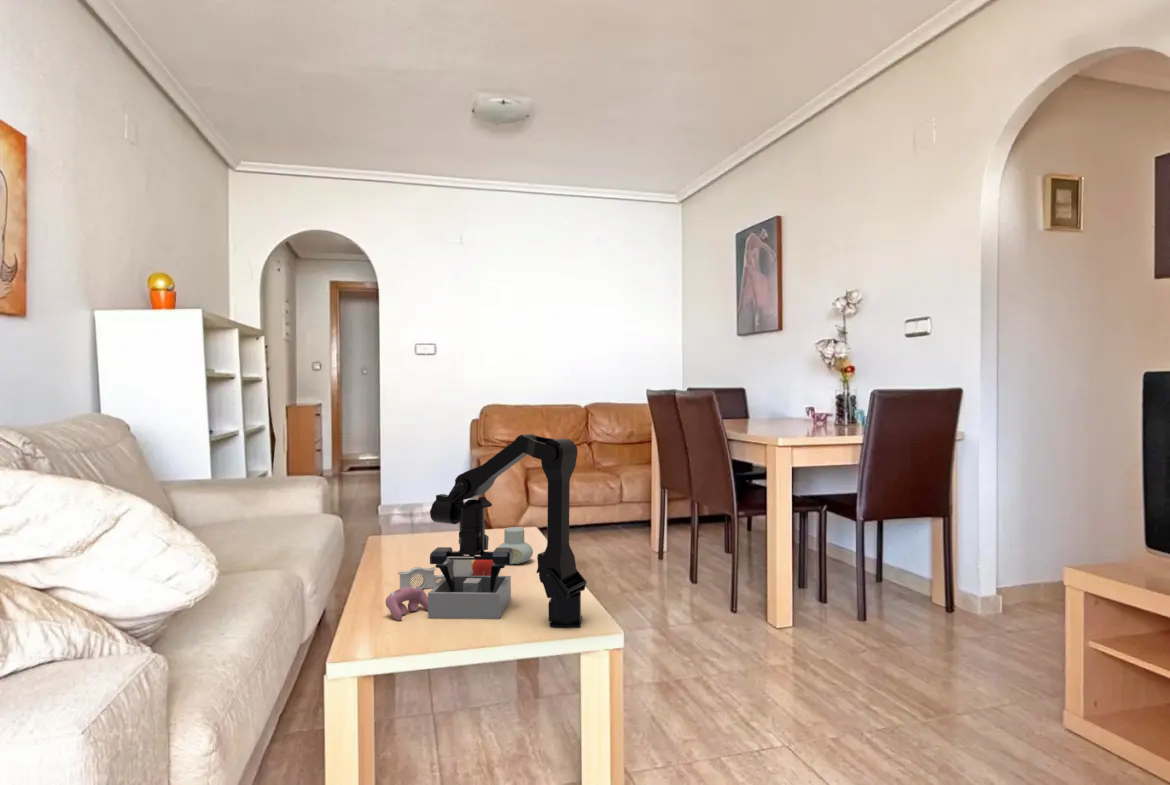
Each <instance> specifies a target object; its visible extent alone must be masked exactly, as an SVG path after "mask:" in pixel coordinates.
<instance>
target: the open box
mask: <svg viewBox="0 0 1170 785" xmlns="http://www.w3.org/2000/svg"><path fill="white" fill-rule="evenodd" d="M511 577H512V576H511V575H498V577H497V581H496V584H495V587H494V590H493V593H491V592H490V581H491V576H475V575H454V584H455V588H454V592H451V590H450V588H449V585H448V583H447V581H446V579H445V577H444V578H443V579H442V580H441V579H440V580H441V581H440V582H439V581H438V582H439V583H438V582H437V583H438V584H437V585H436V586H435V587H433V588H431V590H429V592H428V593H427V597H428V610H427V614H428V615H427V618H428V619H461V620H462V619H463V620H464V619H468V620H469V619H471V620H474V619H477V620H478V619H479V620H481V619H482V620H500V619H501V617H502V615H503V614H504V612H505V610H506V608H507V606H508V604H509V603H510V601H511V598H512V585H511V584H512V583H511V581H512V580H511V579H512V578H511ZM467 578H482V593H477V592H463V582H464V581H465V580H466V579H467Z"/></svg>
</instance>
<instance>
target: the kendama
mask: <svg viewBox="0 0 1170 785" xmlns="http://www.w3.org/2000/svg"><path fill="white" fill-rule="evenodd" d="M470 562H471V571H472V574H473V576H491V566H492V565H493V564H494V562H493V560H470Z"/></svg>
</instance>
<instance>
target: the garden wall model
mask: <svg viewBox="0 0 1170 785" xmlns="http://www.w3.org/2000/svg"><path fill="white" fill-rule="evenodd" d="M435 571H436V566H431V567H428V568H426V567H421V566H414V567H412V568H410V569H409V570H406V571H398V575H399V589H401V588H405V587H417V586H418V587H419V588H420V589H422V590H425V589H426V590H427V589H433V588H434V587H435V586H436V585H437V584H438V583H439V582H440V581H441V580H442V579H443V578H444V575H443V573H442V574H436V575H435Z"/></svg>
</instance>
